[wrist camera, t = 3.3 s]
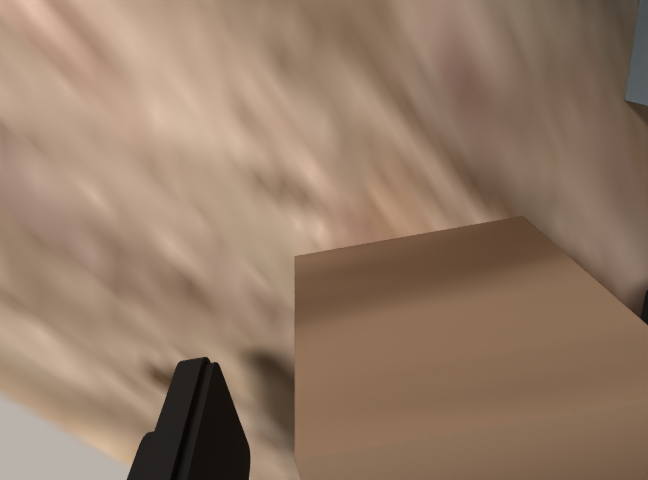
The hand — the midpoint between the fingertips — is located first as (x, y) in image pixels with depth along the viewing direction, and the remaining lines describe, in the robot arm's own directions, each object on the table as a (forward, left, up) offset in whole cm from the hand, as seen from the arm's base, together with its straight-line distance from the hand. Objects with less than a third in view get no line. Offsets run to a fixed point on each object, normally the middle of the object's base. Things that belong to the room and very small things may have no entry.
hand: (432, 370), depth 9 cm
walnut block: (0, 0, -2) cm, 2 cm away
